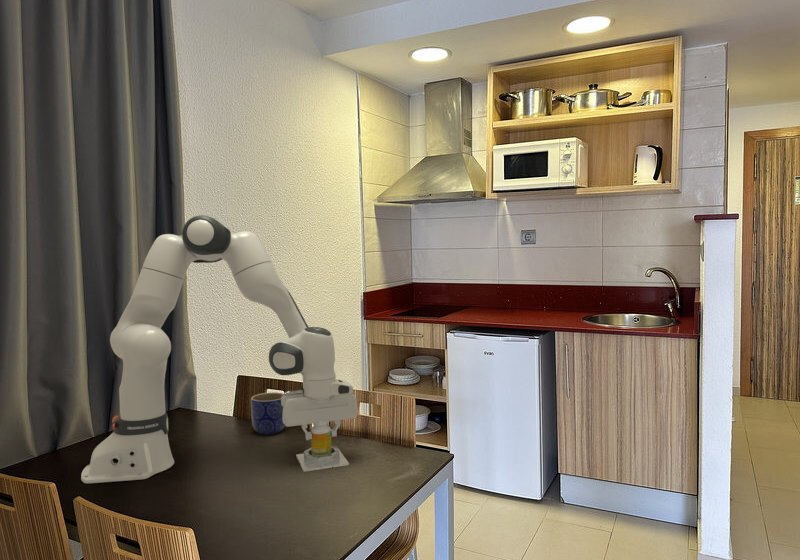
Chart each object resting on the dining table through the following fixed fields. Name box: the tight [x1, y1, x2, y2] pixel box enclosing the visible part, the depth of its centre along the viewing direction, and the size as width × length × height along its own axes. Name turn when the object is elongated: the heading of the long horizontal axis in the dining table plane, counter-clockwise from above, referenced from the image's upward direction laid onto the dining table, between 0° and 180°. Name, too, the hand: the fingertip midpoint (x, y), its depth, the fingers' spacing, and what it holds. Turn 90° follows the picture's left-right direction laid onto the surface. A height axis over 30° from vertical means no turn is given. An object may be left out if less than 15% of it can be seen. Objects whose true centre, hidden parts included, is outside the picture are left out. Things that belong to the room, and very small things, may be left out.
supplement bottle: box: [310, 421, 332, 456], centre depth 164 cm, size 5×5×10 cm
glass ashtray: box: [295, 445, 350, 473], centre depth 164 cm, size 12×12×3 cm
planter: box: [250, 392, 286, 436], centre depth 190 cm, size 11×11×11 cm
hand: (321, 437), depth 164 cm, fingers closed on supplement bottle, 5 cm apart
